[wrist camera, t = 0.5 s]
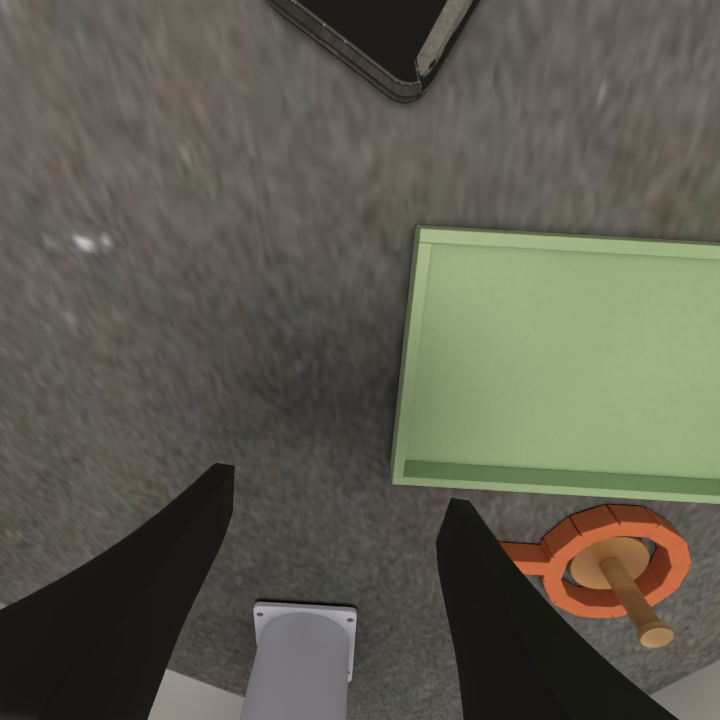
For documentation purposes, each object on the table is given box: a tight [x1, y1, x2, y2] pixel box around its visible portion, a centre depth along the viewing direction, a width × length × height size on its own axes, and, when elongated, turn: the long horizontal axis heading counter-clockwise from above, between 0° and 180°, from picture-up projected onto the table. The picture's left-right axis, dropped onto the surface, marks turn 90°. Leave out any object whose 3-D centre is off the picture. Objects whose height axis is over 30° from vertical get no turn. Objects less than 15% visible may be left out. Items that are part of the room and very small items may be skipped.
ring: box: [499, 505, 691, 618], centre depth 24 cm, size 9×15×6 cm, turn 87°
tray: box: [391, 225, 720, 504], centre depth 20 cm, size 14×21×2 cm
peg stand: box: [567, 536, 674, 648], centre depth 24 cm, size 5×5×6 cm
